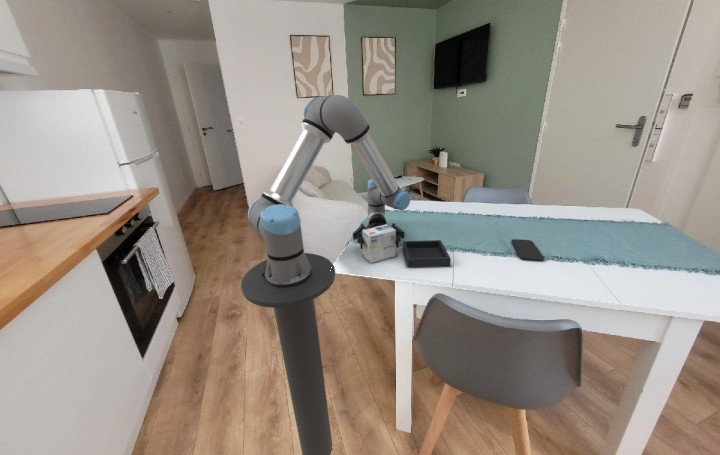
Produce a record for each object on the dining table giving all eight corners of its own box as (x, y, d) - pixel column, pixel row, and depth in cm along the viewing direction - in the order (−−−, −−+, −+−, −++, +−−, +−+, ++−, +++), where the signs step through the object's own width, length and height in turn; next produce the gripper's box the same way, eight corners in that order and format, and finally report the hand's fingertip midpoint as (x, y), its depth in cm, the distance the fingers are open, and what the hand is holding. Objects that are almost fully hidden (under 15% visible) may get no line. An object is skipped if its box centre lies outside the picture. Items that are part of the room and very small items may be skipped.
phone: (520, 257, 100) (510, 238, 113) (520, 259, 100) (510, 240, 114) (544, 259, 98) (531, 240, 112) (544, 261, 99) (531, 242, 112)
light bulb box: (387, 249, 112) (387, 223, 108) (396, 256, 107) (396, 229, 102) (362, 255, 108) (361, 229, 104) (370, 263, 102) (369, 236, 98)
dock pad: (407, 267, 99) (407, 259, 98) (402, 248, 112) (402, 241, 111) (450, 266, 98) (450, 258, 97) (440, 247, 112) (440, 240, 111)
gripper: (406, 229, 122) (413, 253, 103) (349, 230, 123) (345, 255, 103) (406, 212, 119) (414, 234, 100) (348, 214, 120) (344, 236, 100)
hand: (379, 244), depth 101 cm, fingers closed on light bulb box, 12 cm apart
